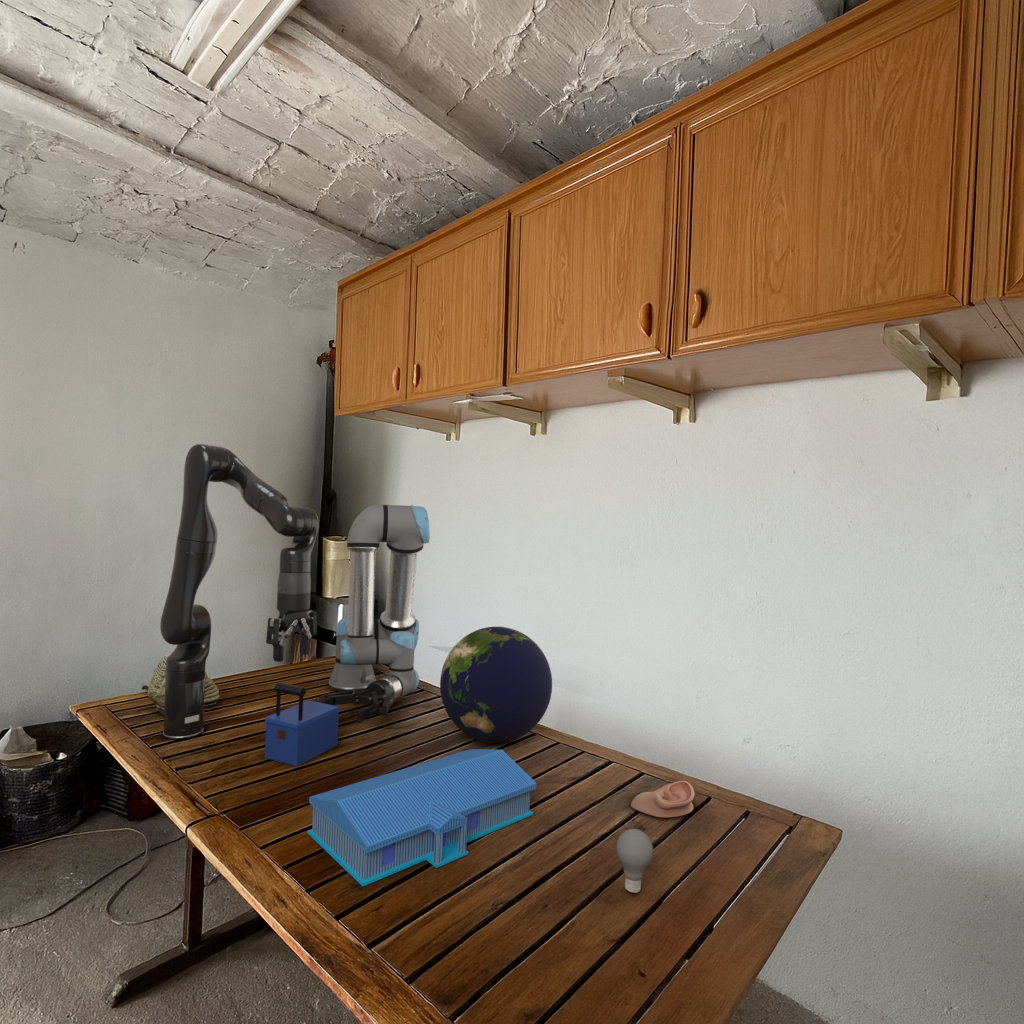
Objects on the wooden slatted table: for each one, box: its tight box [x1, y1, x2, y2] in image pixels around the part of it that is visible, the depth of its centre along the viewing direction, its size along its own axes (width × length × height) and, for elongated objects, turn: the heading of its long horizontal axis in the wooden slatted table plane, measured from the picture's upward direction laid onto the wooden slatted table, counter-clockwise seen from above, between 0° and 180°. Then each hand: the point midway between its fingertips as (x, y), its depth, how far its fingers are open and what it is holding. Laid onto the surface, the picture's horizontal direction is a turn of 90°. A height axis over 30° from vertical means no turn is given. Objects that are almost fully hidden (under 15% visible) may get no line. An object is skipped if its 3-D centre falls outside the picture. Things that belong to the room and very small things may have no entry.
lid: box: [264, 682, 340, 729], centre depth 156 cm, size 15×10×9 cm, turn 156°
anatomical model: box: [630, 780, 695, 818], centre depth 136 cm, size 13×4×12 cm
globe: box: [439, 625, 553, 744], centre depth 169 cm, size 30×30×30 cm
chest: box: [264, 710, 340, 767], centre depth 157 cm, size 15×10×9 cm
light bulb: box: [615, 828, 654, 894], centre depth 106 cm, size 6×6×10 cm
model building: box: [307, 748, 538, 887], centre depth 123 cm, size 39×24×10 cm, turn 132°
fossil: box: [147, 654, 221, 711], centre depth 185 cm, size 9×18×15 cm, turn 132°
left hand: (291, 657), depth 152 cm, fingers open, 8 cm apart
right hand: (336, 713), depth 166 cm, fingers open, 13 cm apart
